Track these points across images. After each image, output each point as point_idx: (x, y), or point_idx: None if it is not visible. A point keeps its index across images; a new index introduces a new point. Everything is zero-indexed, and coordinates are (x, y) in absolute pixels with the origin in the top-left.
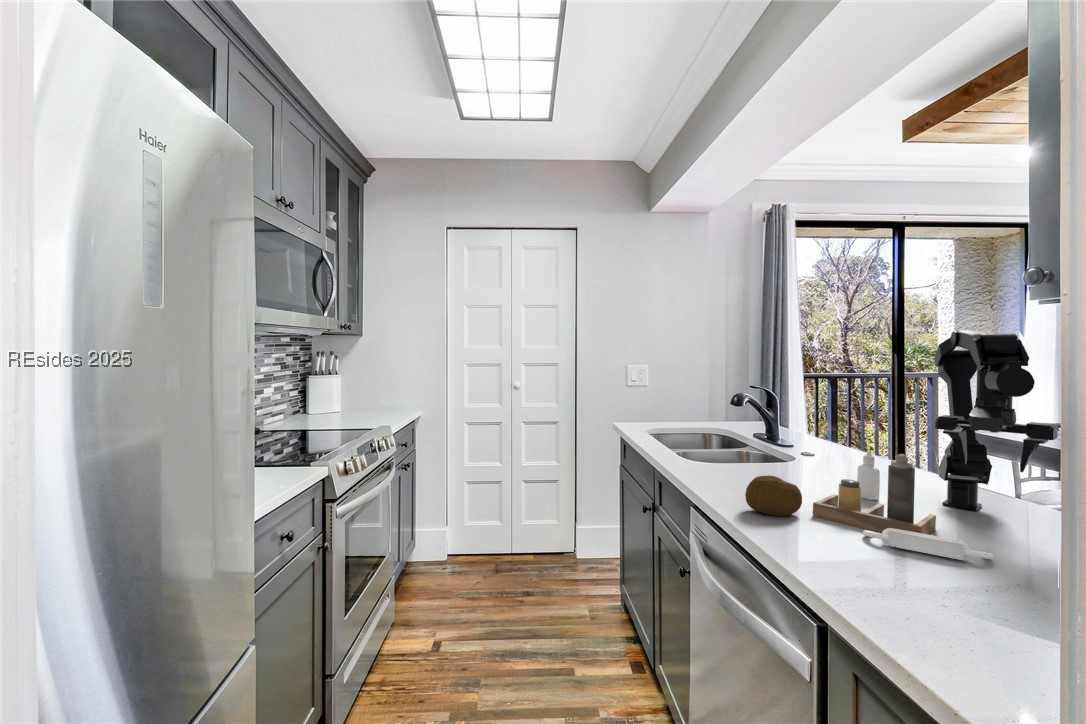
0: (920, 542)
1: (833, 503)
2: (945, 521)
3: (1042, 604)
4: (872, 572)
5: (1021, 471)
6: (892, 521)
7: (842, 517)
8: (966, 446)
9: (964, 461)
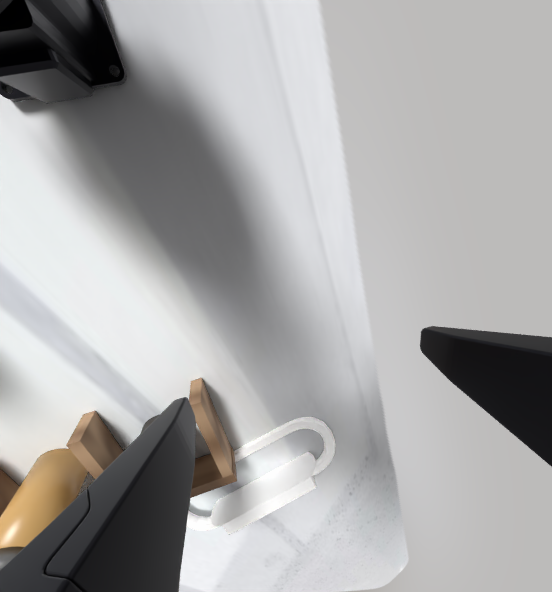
0: (259, 491)
1: None
2: (169, 302)
3: (390, 475)
4: (268, 552)
5: (427, 353)
6: (190, 496)
7: None
8: (136, 495)
9: (193, 436)
